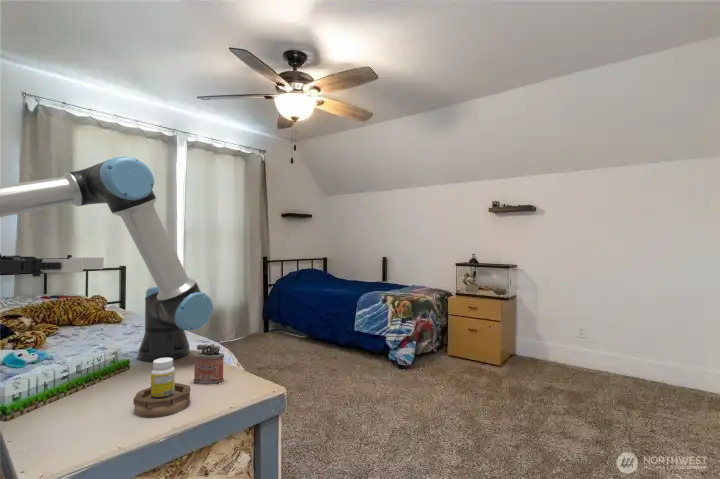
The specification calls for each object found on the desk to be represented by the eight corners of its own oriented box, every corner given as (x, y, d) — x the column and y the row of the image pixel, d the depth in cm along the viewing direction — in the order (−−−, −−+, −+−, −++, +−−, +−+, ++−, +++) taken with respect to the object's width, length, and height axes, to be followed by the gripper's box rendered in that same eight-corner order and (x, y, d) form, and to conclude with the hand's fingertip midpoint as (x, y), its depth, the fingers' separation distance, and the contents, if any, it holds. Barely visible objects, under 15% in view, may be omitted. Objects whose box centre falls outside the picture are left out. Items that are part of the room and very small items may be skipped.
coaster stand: (140, 400, 87) (140, 386, 87) (191, 394, 90) (192, 381, 90) (128, 420, 76) (129, 405, 76) (187, 413, 80) (187, 398, 80)
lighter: (226, 380, 100) (226, 343, 100) (220, 385, 96) (220, 346, 97) (197, 379, 101) (198, 342, 101) (190, 384, 97) (191, 345, 98)
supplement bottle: (156, 393, 85) (157, 357, 86) (177, 393, 86) (178, 356, 86) (146, 402, 81) (147, 363, 81) (169, 401, 81) (170, 362, 81)
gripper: (3, 279, 86) (109, 277, 94) (-80, 290, 63) (70, 286, 70) (4, 247, 87) (110, 247, 94) (-78, 246, 63) (71, 247, 70)
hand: (93, 264), depth 82 cm, fingers open, 13 cm apart
